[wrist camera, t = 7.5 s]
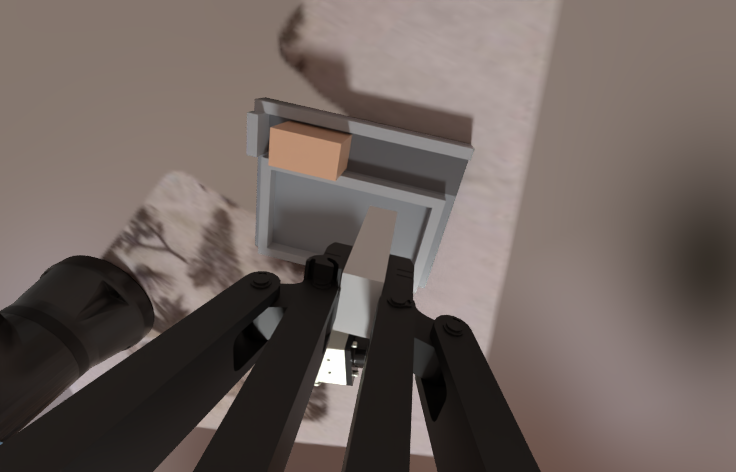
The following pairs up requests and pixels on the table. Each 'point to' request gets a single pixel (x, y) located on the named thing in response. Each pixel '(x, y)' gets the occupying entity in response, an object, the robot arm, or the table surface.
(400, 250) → the grey tray
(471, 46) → the table surface
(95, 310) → the robot arm
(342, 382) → the pneumatic valve
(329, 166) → the tan cardboard box
